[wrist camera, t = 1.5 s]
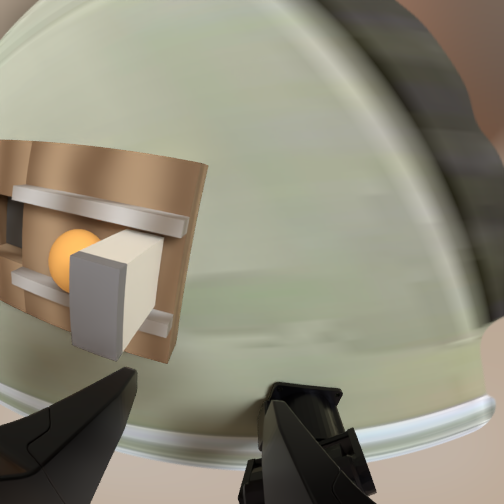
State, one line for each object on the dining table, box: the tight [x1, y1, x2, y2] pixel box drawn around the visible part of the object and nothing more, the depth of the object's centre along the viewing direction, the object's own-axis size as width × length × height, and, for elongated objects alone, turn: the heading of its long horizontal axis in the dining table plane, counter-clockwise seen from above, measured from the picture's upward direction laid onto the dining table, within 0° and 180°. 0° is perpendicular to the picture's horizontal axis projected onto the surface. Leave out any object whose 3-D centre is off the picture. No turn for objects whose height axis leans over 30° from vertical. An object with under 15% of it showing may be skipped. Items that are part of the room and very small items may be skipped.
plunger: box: [69, 229, 164, 362], centre depth 14 cm, size 2×5×6 cm, turn 167°
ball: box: [48, 229, 101, 293], centre depth 16 cm, size 4×4×4 cm
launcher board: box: [0, 140, 208, 364], centre depth 18 cm, size 21×14×4 cm, turn 77°
